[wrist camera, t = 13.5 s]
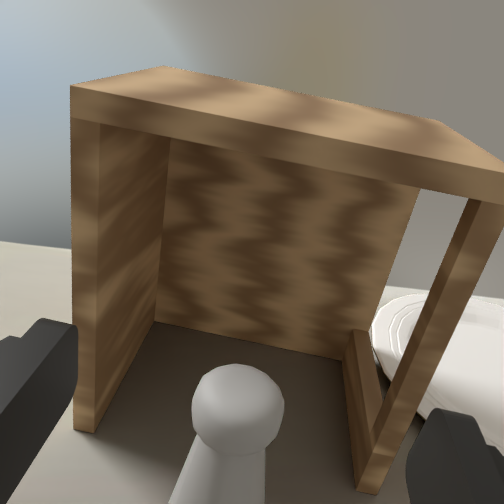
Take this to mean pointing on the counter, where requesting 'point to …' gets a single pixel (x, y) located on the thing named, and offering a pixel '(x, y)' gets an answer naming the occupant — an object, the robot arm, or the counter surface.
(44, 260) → the counter surface
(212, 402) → the salt shaker
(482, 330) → the plate
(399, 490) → the counter surface
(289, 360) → the counter surface
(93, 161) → the open-side box
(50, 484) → the counter surface
